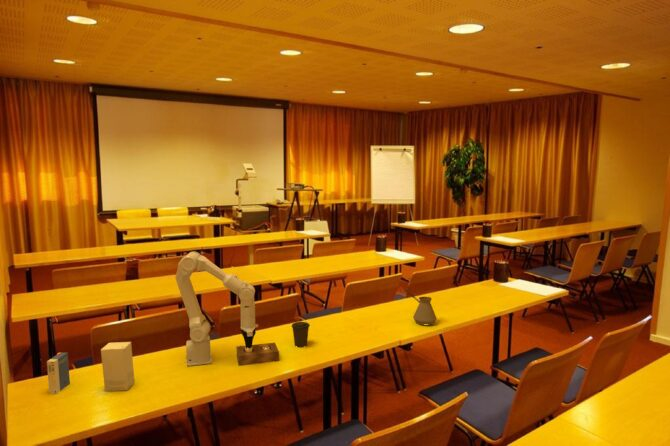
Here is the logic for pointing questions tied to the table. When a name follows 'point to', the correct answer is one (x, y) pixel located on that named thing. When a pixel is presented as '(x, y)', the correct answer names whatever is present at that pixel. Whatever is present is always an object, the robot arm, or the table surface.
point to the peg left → (248, 349)
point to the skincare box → (117, 366)
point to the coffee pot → (423, 310)
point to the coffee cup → (300, 333)
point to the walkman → (58, 373)
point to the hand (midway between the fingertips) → (248, 347)
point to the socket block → (257, 354)
